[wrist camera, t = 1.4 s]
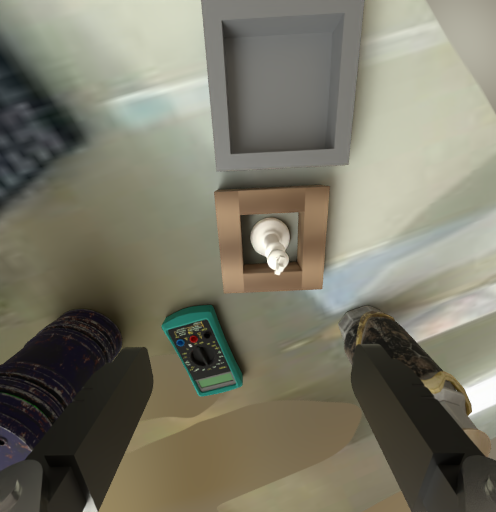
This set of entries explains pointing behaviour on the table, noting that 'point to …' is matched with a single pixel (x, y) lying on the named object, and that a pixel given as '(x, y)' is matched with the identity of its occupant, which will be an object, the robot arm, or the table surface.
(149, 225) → the table surface
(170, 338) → the digital multimeter
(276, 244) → the chess piece
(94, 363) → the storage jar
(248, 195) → the socket stand
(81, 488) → the robot arm
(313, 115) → the parts tray
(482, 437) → the lantern
